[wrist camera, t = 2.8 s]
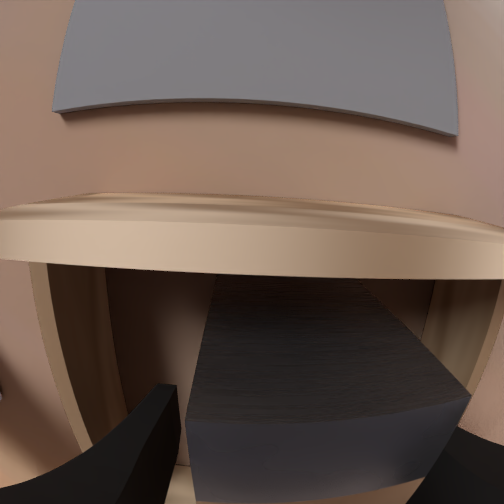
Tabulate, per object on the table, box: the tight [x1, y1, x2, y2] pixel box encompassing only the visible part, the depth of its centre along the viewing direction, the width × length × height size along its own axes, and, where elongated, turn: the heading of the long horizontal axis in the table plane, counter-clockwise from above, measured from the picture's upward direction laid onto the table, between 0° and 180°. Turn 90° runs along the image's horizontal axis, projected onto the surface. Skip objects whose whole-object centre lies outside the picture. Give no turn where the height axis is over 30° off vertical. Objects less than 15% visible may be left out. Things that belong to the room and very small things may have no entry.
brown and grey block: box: [185, 273, 472, 504], centre depth 8 cm, size 4×9×7 cm, turn 177°
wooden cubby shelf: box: [0, 193, 504, 504], centre depth 8 cm, size 13×13×6 cm
